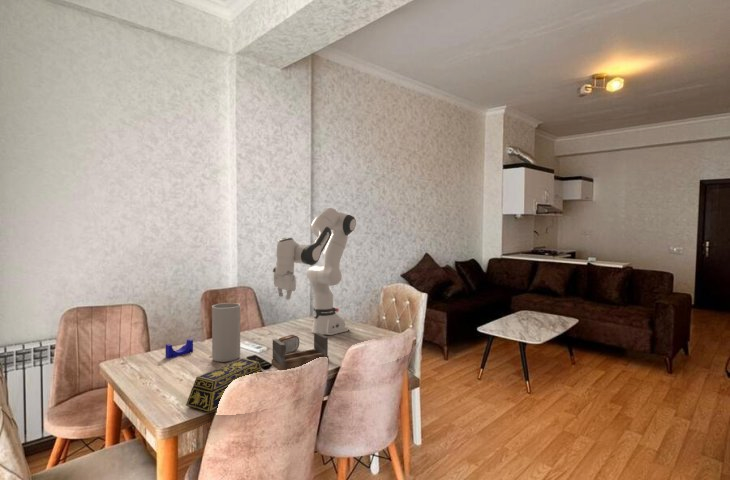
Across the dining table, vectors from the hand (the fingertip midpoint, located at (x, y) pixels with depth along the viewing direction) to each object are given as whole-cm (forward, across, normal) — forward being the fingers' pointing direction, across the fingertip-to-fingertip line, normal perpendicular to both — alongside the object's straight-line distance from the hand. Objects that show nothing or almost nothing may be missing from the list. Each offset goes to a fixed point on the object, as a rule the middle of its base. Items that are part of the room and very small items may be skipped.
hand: (284, 297), depth 194 cm
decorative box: (+29, -34, +35) cm, 57 cm away
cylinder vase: (+28, +5, +26) cm, 38 cm away
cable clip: (+28, +23, +44) cm, 57 cm away
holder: (+27, -19, -1) cm, 33 cm away
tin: (+27, -4, -1) cm, 27 cm away
